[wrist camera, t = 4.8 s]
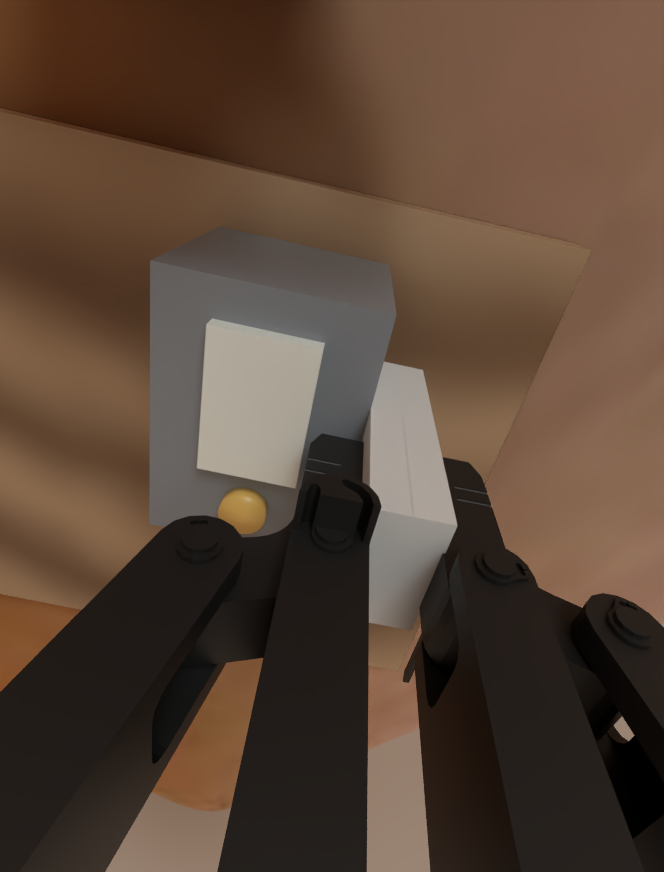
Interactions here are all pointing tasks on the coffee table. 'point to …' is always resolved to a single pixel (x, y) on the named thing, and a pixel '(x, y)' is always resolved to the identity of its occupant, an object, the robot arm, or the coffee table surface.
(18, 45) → the coffee table surface
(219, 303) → the block
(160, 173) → the board
